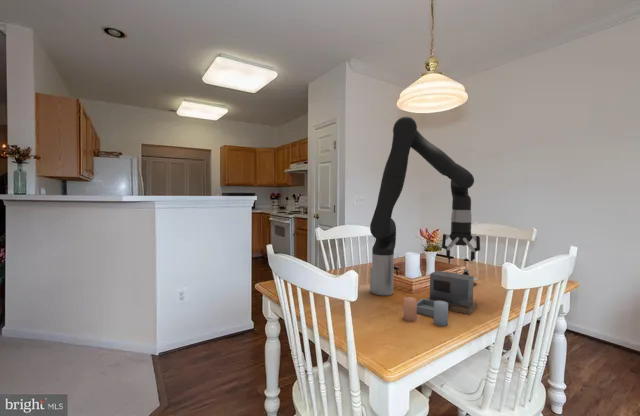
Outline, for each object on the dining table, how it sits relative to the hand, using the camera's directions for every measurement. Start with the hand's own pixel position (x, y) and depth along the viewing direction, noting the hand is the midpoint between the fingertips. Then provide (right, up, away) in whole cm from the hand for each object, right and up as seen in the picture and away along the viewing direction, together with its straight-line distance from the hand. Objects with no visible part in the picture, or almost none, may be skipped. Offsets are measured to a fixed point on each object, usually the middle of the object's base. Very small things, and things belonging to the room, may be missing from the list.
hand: (460, 259), depth 127 cm
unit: (-7, -17, -8) cm, 20 cm away
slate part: (-17, -17, -24) cm, 34 cm away
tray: (-17, -17, -13) cm, 28 cm away
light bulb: (+13, -15, +23) cm, 30 cm away
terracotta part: (-27, -17, -20) cm, 37 cm away
